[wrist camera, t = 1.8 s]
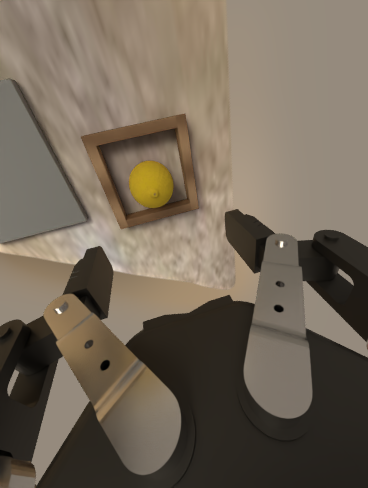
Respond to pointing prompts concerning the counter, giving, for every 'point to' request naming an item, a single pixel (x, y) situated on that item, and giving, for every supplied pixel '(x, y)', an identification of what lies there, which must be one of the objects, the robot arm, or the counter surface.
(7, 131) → the grey rectangular plate
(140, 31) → the counter surface
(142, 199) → the lemon
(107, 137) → the walnut collar
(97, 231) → the counter surface
